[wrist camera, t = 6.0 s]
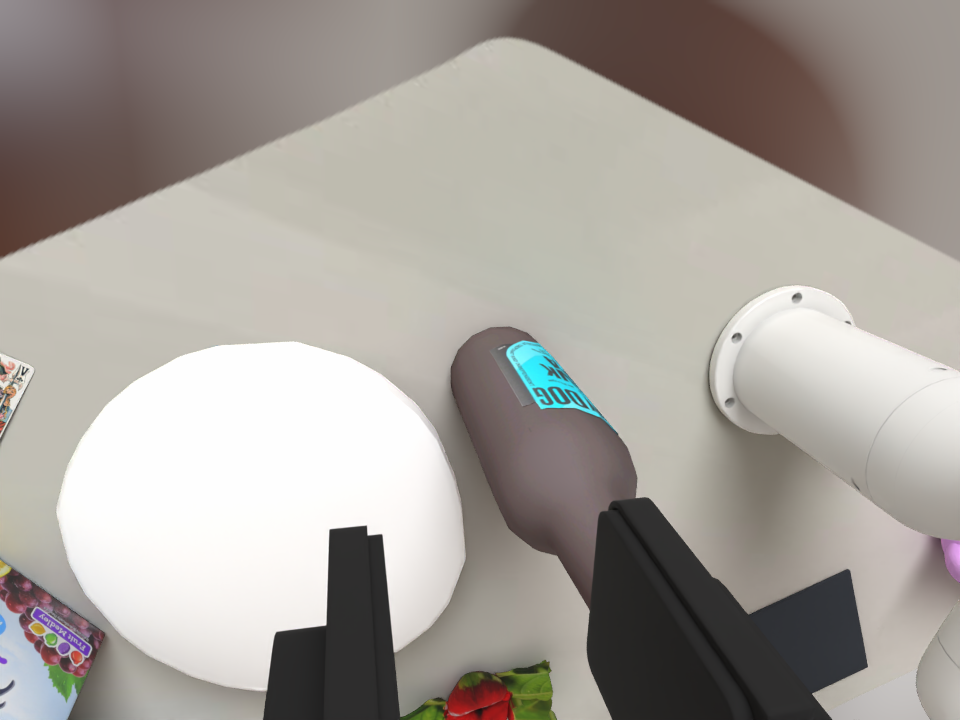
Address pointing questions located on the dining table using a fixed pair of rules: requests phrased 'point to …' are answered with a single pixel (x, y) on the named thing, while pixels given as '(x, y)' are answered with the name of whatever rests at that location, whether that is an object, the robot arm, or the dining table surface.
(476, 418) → the beer bottle
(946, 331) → the dining table surface
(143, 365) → the dining table surface
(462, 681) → the decorative ornament
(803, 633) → the mat
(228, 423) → the plate
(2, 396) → the playing card
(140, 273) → the dining table surface
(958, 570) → the teapot
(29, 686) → the snack box
